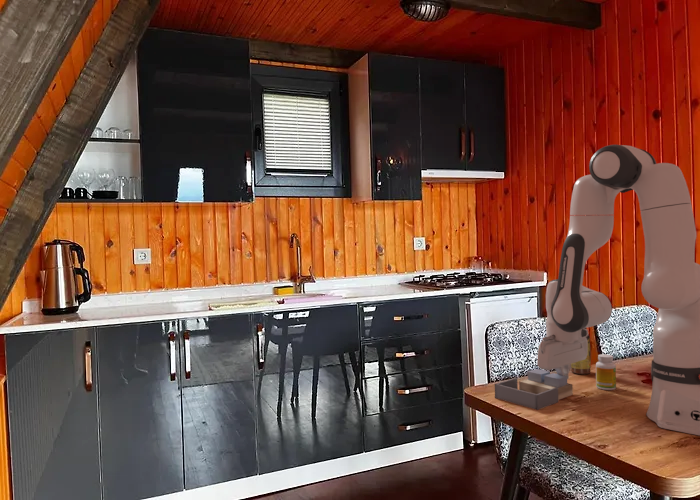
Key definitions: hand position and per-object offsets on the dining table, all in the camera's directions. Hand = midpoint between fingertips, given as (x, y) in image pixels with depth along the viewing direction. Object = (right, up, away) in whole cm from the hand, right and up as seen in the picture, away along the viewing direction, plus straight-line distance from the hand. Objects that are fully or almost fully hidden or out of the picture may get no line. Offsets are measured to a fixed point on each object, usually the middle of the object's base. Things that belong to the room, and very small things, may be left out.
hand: (563, 379), depth 157 cm
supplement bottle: (+14, -3, +3) cm, 15 cm away
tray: (-13, -4, -6) cm, 15 cm away
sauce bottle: (+14, -3, +20) cm, 24 cm away
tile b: (-6, -1, +3) cm, 7 cm away
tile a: (-3, -1, -2) cm, 4 cm away
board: (-5, -4, 0) cm, 6 cm away
